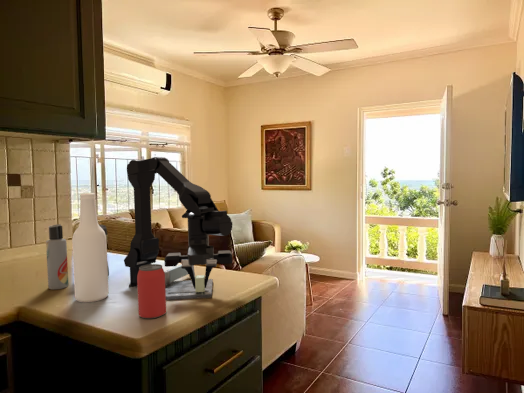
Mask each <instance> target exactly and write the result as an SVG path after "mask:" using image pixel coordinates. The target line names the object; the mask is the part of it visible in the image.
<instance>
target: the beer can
mask: <svg viewBox="0 0 524 393" xmlns="http://www.w3.org/2000/svg"><path fill="white" fill-rule="evenodd" d="M164 272H165V270H164V268H163V265H162V264H157V263H151V264H150V265H144V266H141V267H139V272H138V275H137V286H136V288H137V305H138V306H137V308H138V316H139V317H141V318H142V319H147V320H148V319H157V318H160V317H163V316H164V315H165V314H166V312H167V300H166V291H165V273H164Z"/></svg>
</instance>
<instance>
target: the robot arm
mask: <svg viewBox="0 0 524 393" xmlns="http://www.w3.org/2000/svg"><path fill="white" fill-rule="evenodd" d="M126 174H127V180H128V181H129V184H130V185H131V186H132V188H133V203H134V204H133V206H134V208H133V209H134V227H135V228H134V229H135V230H134V236H133V237H132V240H131V241H130V246H129V252H128V253H127V255H126V256H125V258H124V259H123V262H124V266H125V267H127V268H129V279H130V280H129V283H128V286H129V287H137V275H138V272H139V267H141V266H144V265H150V264H156V262H157V258H158V254H159V251H160V244H159V242H160V240H159V237H156V236H155V235H154V233H153V231H152V230H153V229H152V226H153V225H152V205H151V204H152V203H151V202H152V201H151V187H152V185H153V183H154V181H155V179H156V174H158V175H159V176H160V177H161V178H162V179H163V180H164V182H166V183H167V184H168V185H169V186H170V187H171V188H172V189H173V190H174V191H175V192H176V193H177V194H178V200H179V201H180V203H181V205H182V206H183V207H184V208H185V210H186V211H185V212H184V213H183V214H182V215H181V218H182V219H187V237H188V238H187V240H188V241H187V242H188V243H187V244H188V247H187V254H186V255H182V254H181V252H168V253H167V254H166V256H165V257H164V267H167V268H169V267H177V266H178V265H179V264H180V263H181V264H180V265H182V266H181V268H182V269H185V270H186V271H187V272H188V276H189V279H190V280H191V281H192V284H193V286H194V289H195V277H196V273H195V266H196V265H197V266H198V265H199V266H200V265H201V266H204V265H205V274H204V275H205V281H204V286H205V288H206V286H207V282H208V279H210V275H211V272H212V270H213V268H217V265H218V264H217V262H218V263H220V264H221V265H223V264H225V265H229V264H233V253H232V251H231V250H229V249H228V250H218V251H217V253H214V252H215V251H214V245H209V244H210V241H209V239H210V237H209V236H210V235H211V236H221V237H227V236H229V235H230V234H231V232H232V230H233V221H232V218H231V217H230V216H229V215H228V210H220V211H219V209H218V208H217V206H216V204H215V202H214V201H213V199H212V197H211V196H212V195H211V194H210V192H209V191H208V190H207V189H205V188H203V187H202V186H200V185H197V184H194V183H193V182H191V181H190V180H189V179H188V178H187V177H186V176H185V175H184V174H182V173H181V172H180V171H179V170H178V169H177V168H176V167H175V166H174V165H173V164H172V163H171V162H170V160H169V159H168V158H166V157H162V156H161V157H159V156H154V157H150V158H146V159H131V160H130V161H129V162H128V164H127V165H126Z"/></svg>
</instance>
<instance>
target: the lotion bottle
mask: <svg viewBox="0 0 524 393" xmlns="http://www.w3.org/2000/svg"><path fill="white" fill-rule="evenodd" d="M63 231H64V230H63V225H62V224H61V223H60V224H59V223H58V224H57V223H56V224H53V225H49V226H48V240H46V241H45V248H46V268H47V269H46V270H47V283H48V284H47V285H48V289H50V290H60V289H65V288H68V286H69V270H68V269H69V268H68V267H69V266H68V265H69V264H68V250H67V249H68V247H67V244H68V243H67V239H66V238H64V233H63Z"/></svg>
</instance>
